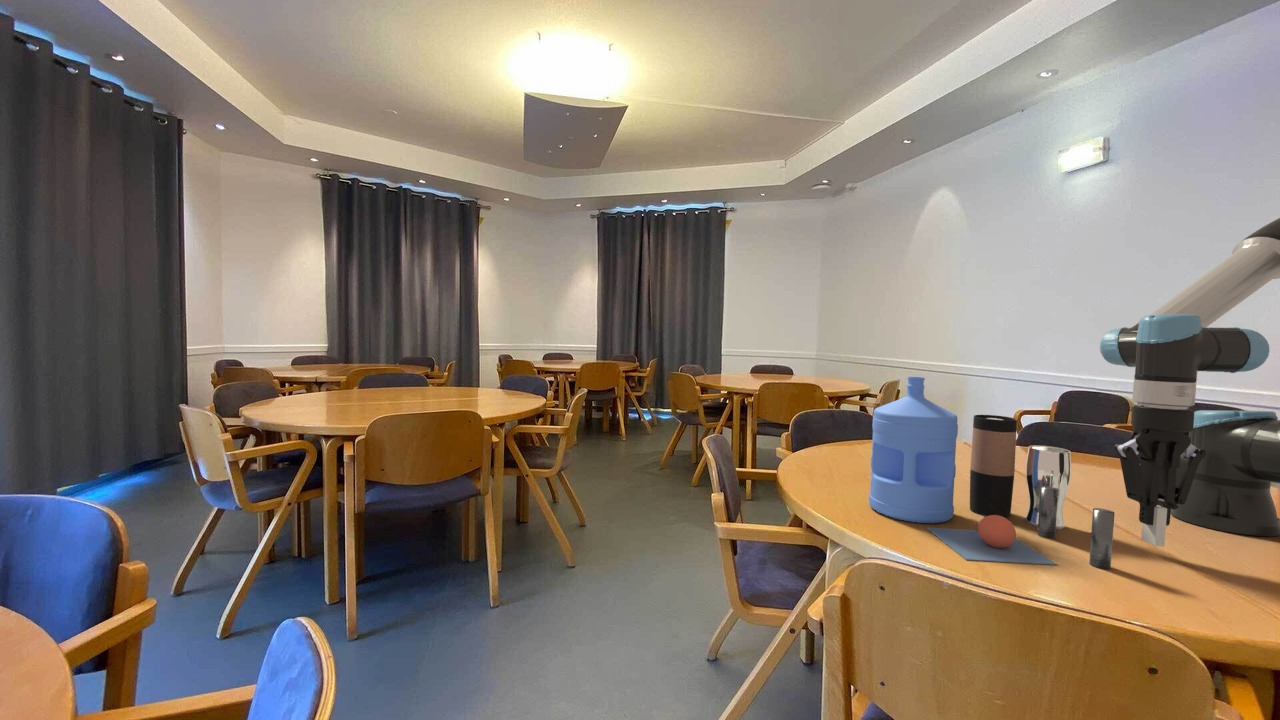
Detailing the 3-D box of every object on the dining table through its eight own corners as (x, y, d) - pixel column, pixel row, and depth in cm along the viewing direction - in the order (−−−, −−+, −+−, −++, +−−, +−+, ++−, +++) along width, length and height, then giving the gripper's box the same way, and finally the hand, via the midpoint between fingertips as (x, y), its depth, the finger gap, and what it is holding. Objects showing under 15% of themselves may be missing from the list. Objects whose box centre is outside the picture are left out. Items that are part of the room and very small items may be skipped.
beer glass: (1023, 515, 109) (1028, 443, 108) (1067, 523, 105) (1072, 448, 104) (1021, 524, 104) (1025, 448, 103) (1067, 533, 99) (1072, 454, 98)
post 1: (1048, 533, 99) (1051, 486, 98) (1058, 539, 96) (1061, 490, 96) (1034, 532, 99) (1037, 485, 99) (1043, 538, 97) (1046, 489, 96)
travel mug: (959, 507, 113) (964, 415, 112) (986, 505, 115) (991, 414, 114) (992, 520, 106) (998, 421, 105) (1021, 516, 108) (1026, 419, 107)
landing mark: (1004, 532, 99) (1004, 531, 99) (1057, 565, 85) (1057, 563, 85) (926, 528, 100) (926, 527, 100) (966, 560, 86) (966, 559, 86)
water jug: (873, 495, 121) (879, 373, 119) (953, 508, 113) (960, 377, 111) (863, 514, 107) (869, 377, 106) (953, 531, 99) (961, 382, 98)
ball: (964, 526, 95) (987, 547, 95) (982, 537, 89) (1006, 559, 89) (986, 504, 94) (1009, 525, 94) (1006, 514, 89) (1030, 537, 89)
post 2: (1102, 562, 86) (1105, 508, 86) (1115, 569, 84) (1118, 513, 83) (1085, 561, 87) (1088, 507, 86) (1097, 568, 84) (1101, 513, 84)
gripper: (1140, 407, 86) (1130, 550, 87) (1227, 410, 85) (1215, 554, 86) (1103, 401, 93) (1095, 532, 95) (1183, 404, 92) (1173, 536, 94)
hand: (1152, 543), depth 90 cm, fingers closed
